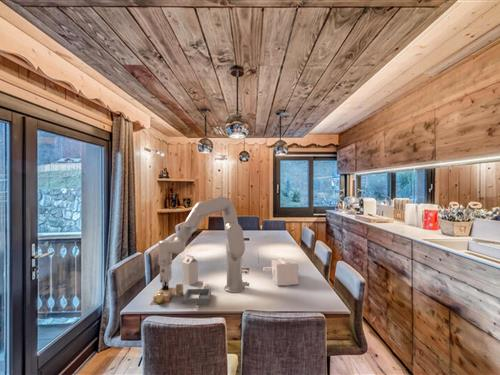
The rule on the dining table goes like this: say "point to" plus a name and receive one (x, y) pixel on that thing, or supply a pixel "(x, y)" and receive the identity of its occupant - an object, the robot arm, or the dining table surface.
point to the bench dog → (160, 298)
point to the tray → (203, 297)
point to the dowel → (179, 290)
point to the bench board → (166, 301)
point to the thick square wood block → (166, 295)
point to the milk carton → (190, 270)
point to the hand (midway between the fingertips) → (165, 292)
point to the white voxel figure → (284, 271)
